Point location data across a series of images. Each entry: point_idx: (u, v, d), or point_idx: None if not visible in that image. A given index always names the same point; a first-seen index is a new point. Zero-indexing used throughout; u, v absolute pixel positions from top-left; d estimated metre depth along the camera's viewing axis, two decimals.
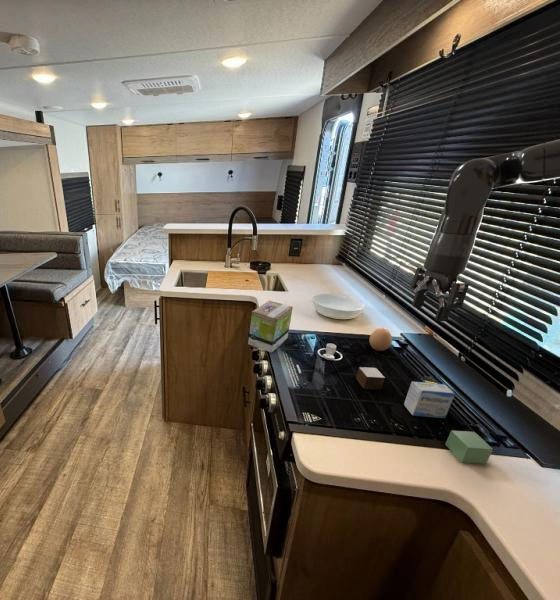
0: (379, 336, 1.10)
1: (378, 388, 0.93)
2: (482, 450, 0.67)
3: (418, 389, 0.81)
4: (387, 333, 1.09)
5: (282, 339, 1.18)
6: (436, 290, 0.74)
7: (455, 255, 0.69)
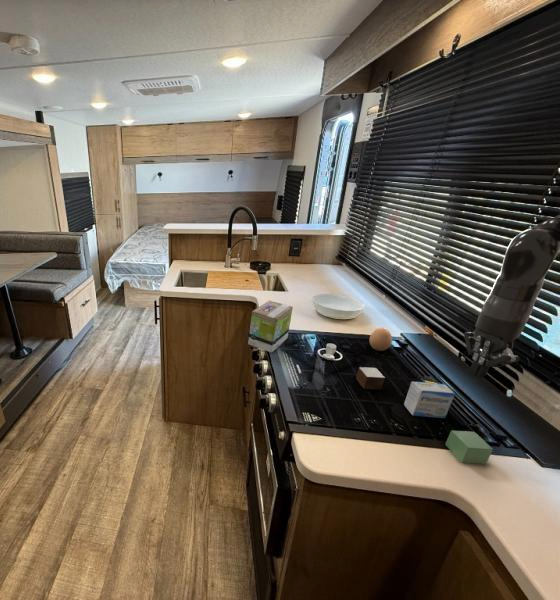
0: (379, 336, 1.10)
1: (378, 388, 0.93)
2: (482, 450, 0.67)
3: (418, 389, 0.81)
4: (387, 333, 1.09)
5: (282, 339, 1.18)
6: (483, 350, 0.75)
7: (513, 321, 0.69)
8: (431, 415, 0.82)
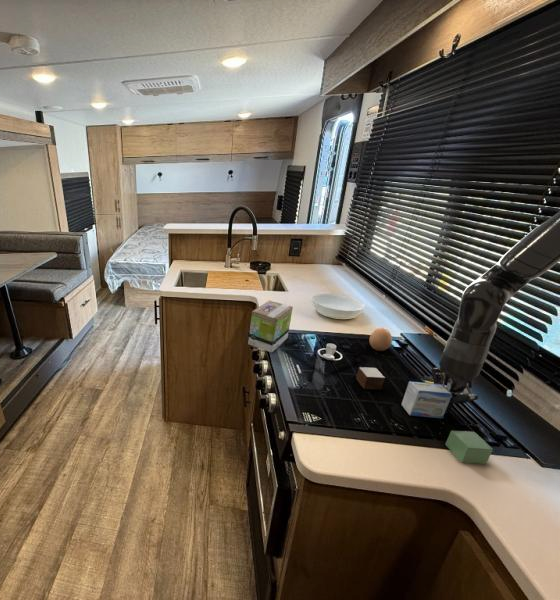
0: (379, 336, 1.10)
1: (378, 388, 0.93)
2: (482, 450, 0.67)
3: (415, 389, 0.81)
4: (387, 333, 1.09)
5: (282, 339, 1.18)
6: (447, 387, 0.80)
7: (470, 362, 0.74)
8: (428, 415, 0.82)
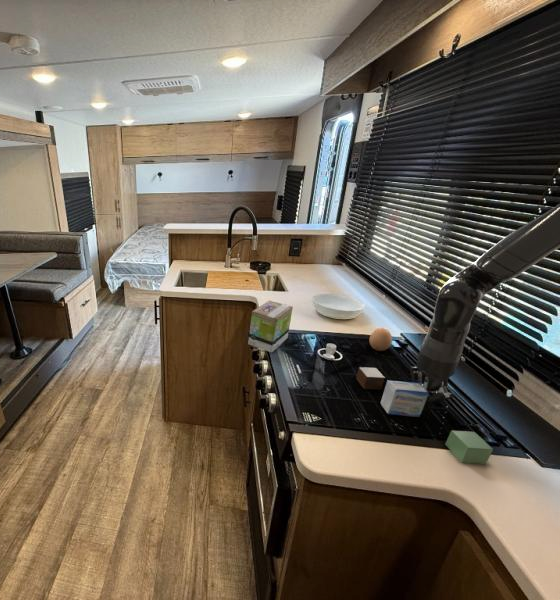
0: (379, 336, 1.10)
1: (378, 388, 0.93)
2: (482, 450, 0.67)
3: (392, 388, 0.82)
4: (387, 333, 1.09)
5: (282, 339, 1.18)
6: (424, 385, 0.80)
7: (445, 361, 0.74)
8: (406, 414, 0.82)
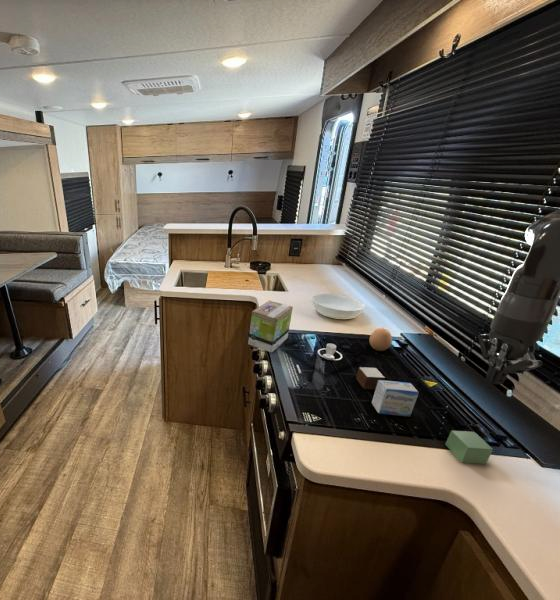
0: (379, 336, 1.10)
1: None
2: (482, 450, 0.67)
3: (383, 388, 0.82)
4: (387, 333, 1.09)
5: (282, 339, 1.18)
6: (501, 354, 0.67)
7: (533, 321, 0.61)
8: (396, 413, 0.83)
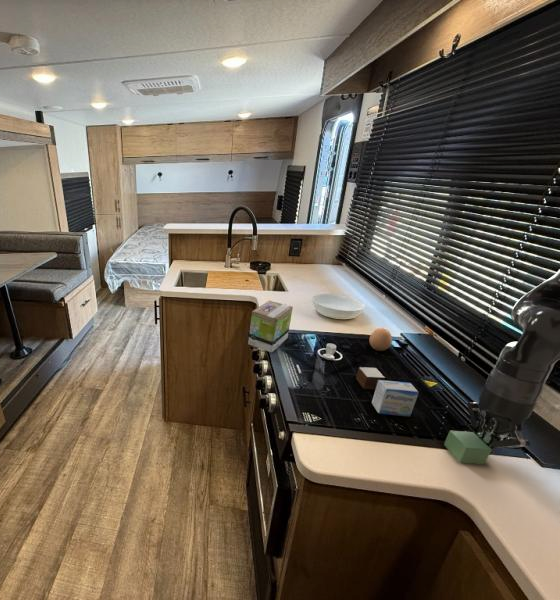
0: (379, 336, 1.10)
1: None
2: (481, 450, 0.67)
3: (383, 388, 0.82)
4: (387, 333, 1.09)
5: (282, 339, 1.18)
6: (489, 428, 0.67)
7: (521, 402, 0.61)
8: (396, 413, 0.83)
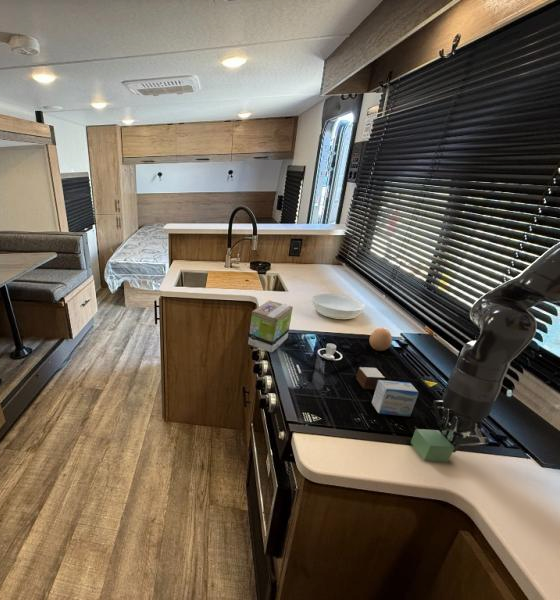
0: (379, 336, 1.10)
1: None
2: (444, 448, 0.68)
3: (383, 388, 0.82)
4: (387, 333, 1.09)
5: (282, 339, 1.18)
6: (452, 426, 0.68)
7: (480, 400, 0.62)
8: (396, 413, 0.83)
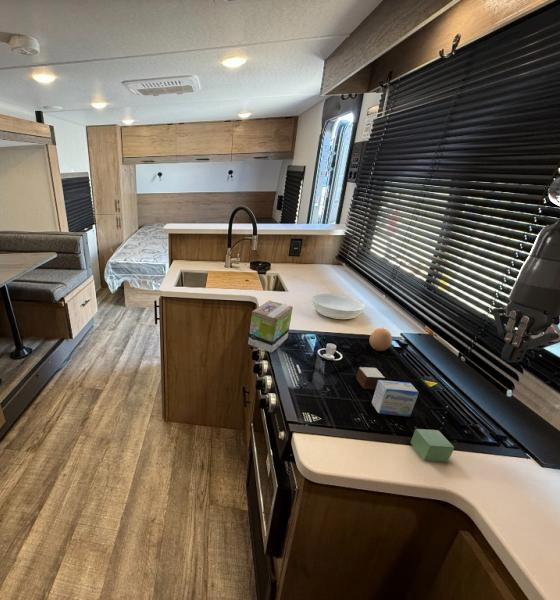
0: (379, 336, 1.10)
1: None
2: (444, 448, 0.68)
3: (383, 388, 0.82)
4: (387, 333, 1.09)
5: (282, 339, 1.18)
6: (520, 328, 0.60)
7: None
8: (396, 413, 0.83)
